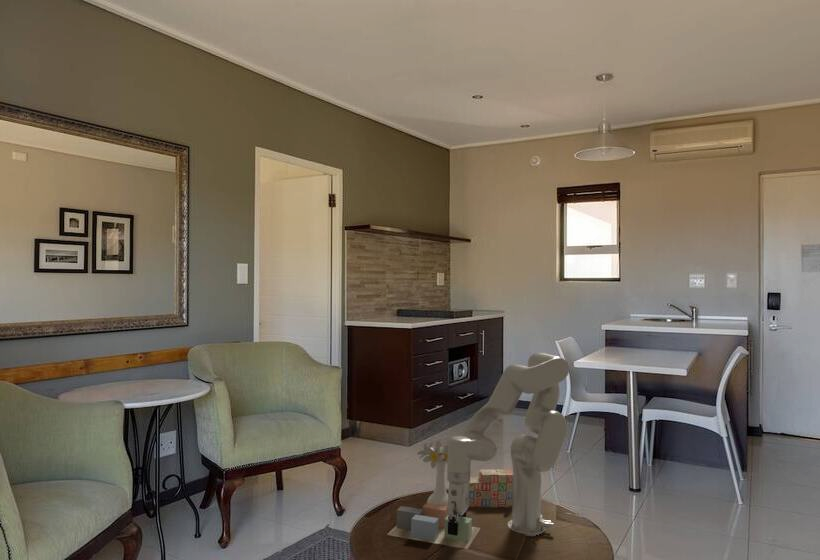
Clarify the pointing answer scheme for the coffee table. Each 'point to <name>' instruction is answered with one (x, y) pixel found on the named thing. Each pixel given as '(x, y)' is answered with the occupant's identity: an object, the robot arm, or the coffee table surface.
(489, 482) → the stack of blocks
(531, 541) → the coffee table surface
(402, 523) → the charcoal brick
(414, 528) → the dusty blue brick
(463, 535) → the sage brick
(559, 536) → the coffee table surface
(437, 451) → the flower vase
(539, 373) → the robot arm
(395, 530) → the birch board
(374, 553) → the coffee table surface
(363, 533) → the coffee table surface
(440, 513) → the terracotta brick
